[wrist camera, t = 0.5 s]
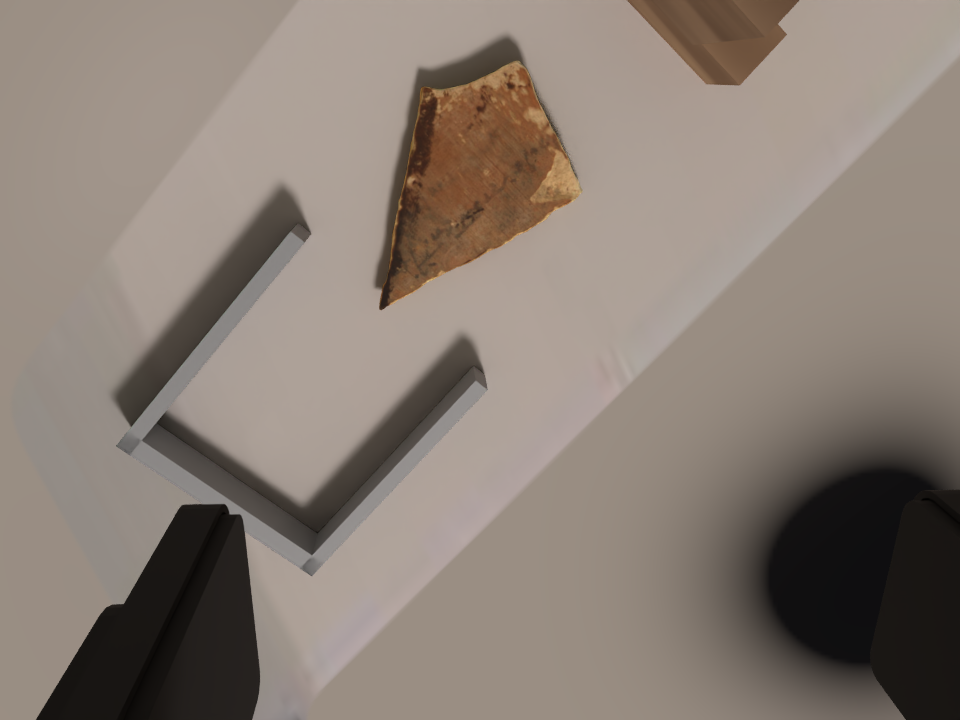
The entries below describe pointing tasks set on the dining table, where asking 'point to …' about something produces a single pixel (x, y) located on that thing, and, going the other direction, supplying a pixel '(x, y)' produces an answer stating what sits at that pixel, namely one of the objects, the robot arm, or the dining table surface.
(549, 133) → the shard
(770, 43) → the wooden step block
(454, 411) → the frame
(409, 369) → the dining table surface
